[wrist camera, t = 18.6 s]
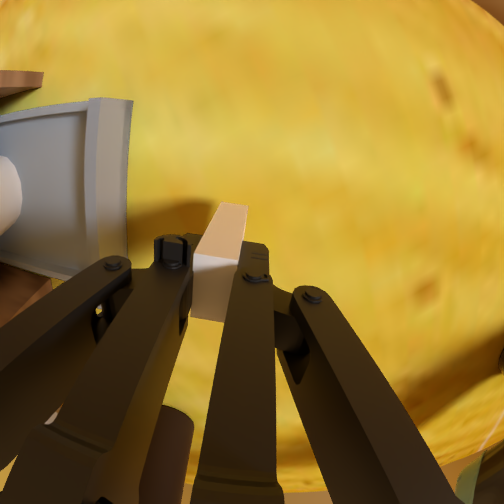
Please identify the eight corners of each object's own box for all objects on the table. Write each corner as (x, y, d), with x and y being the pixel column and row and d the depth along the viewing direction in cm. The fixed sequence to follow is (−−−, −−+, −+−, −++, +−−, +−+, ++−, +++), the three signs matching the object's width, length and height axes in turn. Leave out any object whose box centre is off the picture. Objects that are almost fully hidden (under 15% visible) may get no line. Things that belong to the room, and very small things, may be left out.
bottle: (149, 396, 27) (104, 552, 9) (203, 418, 28) (180, 571, 10) (136, 416, 29) (99, 545, 11) (183, 435, 31) (160, 563, 13)
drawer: (133, 100, 14) (101, 97, 11) (129, 280, 20) (106, 310, 16) (-27, 124, 14) (-55, 131, 10) (-17, 243, 19) (-40, 260, 16)
